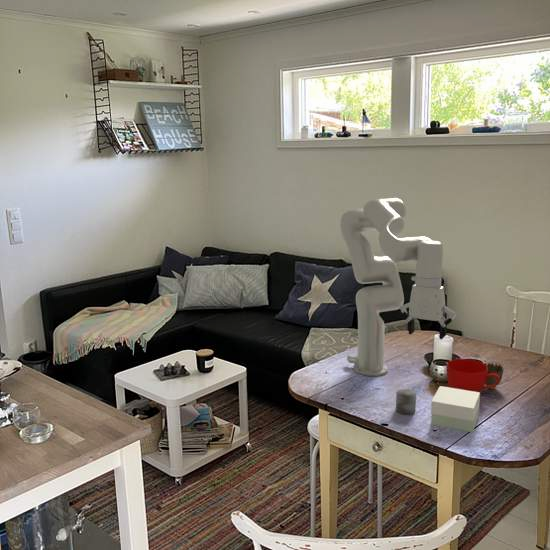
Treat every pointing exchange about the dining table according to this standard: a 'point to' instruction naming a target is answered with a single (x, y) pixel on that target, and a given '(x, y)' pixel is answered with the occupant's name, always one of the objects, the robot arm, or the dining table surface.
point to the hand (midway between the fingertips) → (426, 335)
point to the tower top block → (455, 403)
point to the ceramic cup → (468, 375)
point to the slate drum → (405, 402)
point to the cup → (493, 370)
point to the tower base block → (454, 422)
